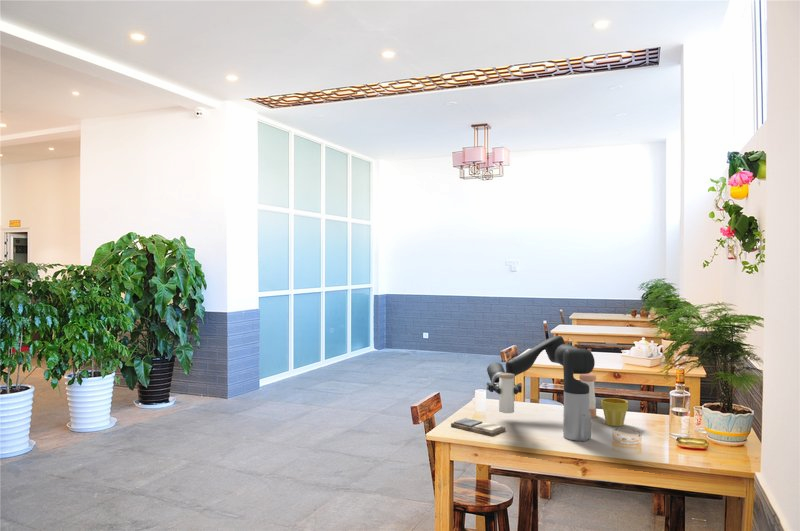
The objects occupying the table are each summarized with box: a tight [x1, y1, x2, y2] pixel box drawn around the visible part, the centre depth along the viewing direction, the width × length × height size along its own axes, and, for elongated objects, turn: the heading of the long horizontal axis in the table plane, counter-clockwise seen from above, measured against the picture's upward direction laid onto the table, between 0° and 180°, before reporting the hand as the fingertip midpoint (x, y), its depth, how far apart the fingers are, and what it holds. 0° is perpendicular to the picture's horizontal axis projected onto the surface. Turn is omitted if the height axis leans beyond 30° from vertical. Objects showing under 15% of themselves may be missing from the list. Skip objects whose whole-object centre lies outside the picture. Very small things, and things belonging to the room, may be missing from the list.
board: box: [450, 417, 506, 437], centre depth 229 cm, size 19×10×2 cm, turn 49°
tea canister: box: [498, 372, 516, 414], centre depth 220 cm, size 6×6×14 cm
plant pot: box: [600, 397, 629, 427], centre depth 237 cm, size 10×10×10 cm
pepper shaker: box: [578, 372, 597, 419], centre depth 251 cm, size 7×7×19 cm
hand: (507, 391), depth 217 cm, fingers closed on tea canister, 5 cm apart
